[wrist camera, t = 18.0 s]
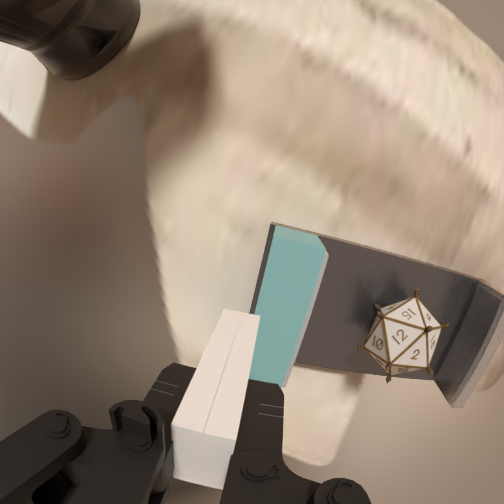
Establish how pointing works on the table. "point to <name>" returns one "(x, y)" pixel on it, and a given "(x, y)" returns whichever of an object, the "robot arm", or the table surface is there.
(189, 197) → the table surface
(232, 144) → the table surface
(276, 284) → the block
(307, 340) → the vise bed
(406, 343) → the game die
